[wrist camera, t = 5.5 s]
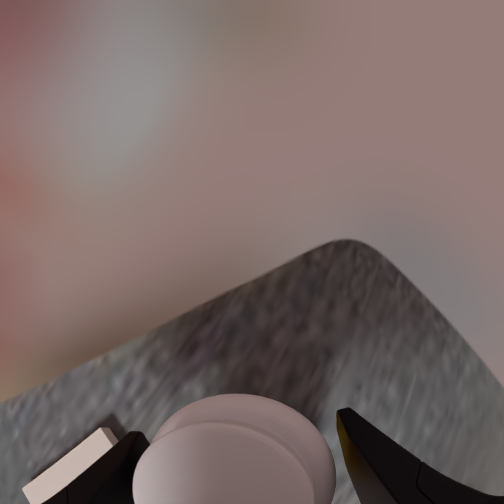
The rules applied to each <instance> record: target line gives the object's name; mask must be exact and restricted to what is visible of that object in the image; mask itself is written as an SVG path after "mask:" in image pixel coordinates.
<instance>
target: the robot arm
mask: <svg viewBox="0 0 504 504" xmlns="http://www.w3.org/2000/svg"><path fill="white" fill-rule="evenodd" d="M336 417H337V432H338V436H339V440H340V444H341V448H342V452H343V456H344V460H345V464H346V467H347V470H348V473H349V476H350V478H351V481H352V483H353V486H354V488H355V490H356V493H357V495H358V498H359V500H360V503H361V504H504V496H493V495H488V494H485V493H482V492H480V491H477V490H475V489H473V488H470V487H468V486H466V485H464V484H461V483H459V482H457V481H455V480H453V479H451V478H449V477H447V476H445V475H443V474H441V473H439V472H438V471H436V470H435V469H433V468H431V467H430V466H429V465H427V464H426V463H424V462H421V460H420V459H418V458H417V457H415V456H414V455H413V454H411V453H410V452H408V451H407V450H406V449H404V448H403V447H401V446H400V445H399V444H397V443H396V442H395V441H393V440H392V439H391V438H389V437H388V436H386V435H385V434H384V433H382V432H381V431H380V430H378V429H377V428H376V427H374V426H373V425H372V424H371V423H369V422H368V421H367V420H365V419H364V418H363V417H361V416H360V415H359V414H358V413H356V412H355V411H354V410H352V409H351V408H349V407H347V408H343V409H339V410H337V413H336ZM149 446H150V444H149V442H148V440H147V439H146V437H145V436H144V434H143V433H142V432H140V431H130V432H129V433H128V434H127V435H125V436H124V437H123V438H122V439H121V440H120V441H119V442H117V443H116V444H115V445H114V446H113V447H112V448H111V449H109V450H108V451H107V452H106V453H105V454H104V455H102V456H101V457H100V458H99V459H98V460H97V461H95V462H94V463H93V464H92V465H91V466H90V467H88V468H87V469H86V470H85V471H84V472H82V473H81V474H80V475H79V476H78V477H76V478H75V479H74V480H73V481H71V482H70V483H69V484H68V485H67V486H65V487H64V488H63V489H61V490H60V491H59V492H57V493H56V494H55V495H53V496H52V497H51V498H49V499H48V500H46V501H45V502H43V503H41V504H135V502H134V498H133V477H134V472H135V469H136V466H137V463H138V461H139V460H140V458H141V456H142V454H143V453H144V452H145V451H146V449H147V448H148V447H149Z"/></svg>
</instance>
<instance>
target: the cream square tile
mask: <svg viewBox="0 0 504 504" xmlns="http://www.w3.org/2000/svg"><path fill="white" fill-rule="evenodd" d="M117 442H119V441H118V440H117V438H116V437H115V436H114V434H113V433H112V431H111V430H110V428H102V427H100V428H99V429H98V430H96V431H95V432H94V433H93V434H92V435H90V436H89V437H88V438H87V439H85V440H84V441H83V442H82V443H80V444H79V445H78V446H77V447H75V448H74V449H73V450H72V451H70V452H69V453H68V454H67V455H65V456H64V457H63V458H61V459H60V460H59V461H58V462H56V463H55V464H54V465H52V466H51V467H50V468H49V469H47V470H46V471H45V472H43V473H42V474H41V475H39V476H38V477H37V478H36V479H34V480H33V481H32V482H30V483H29V484H28V485H26V486H25V487H23V488H22V490H23V492H24V494H25V495H26V497H27V499H28V500H29V502H30V504H41V503H43V502H45V501H46V500H48V499H49V498H51V497H52V496H53V495H55V494H56V493H57V492H59V491H60V490H61V489H63V488H64V487H65V486H67V485H68V484H69V483H70V482H71V481H73V480H74V479H75V478H76V477H78V476H79V475H80V474H81V473H82V472H84V471H85V470H86V469H87V468H88V467H90V466H91V465H92V464H93V463H94V462H95V461H97V460H98V459H99V458H100V457H101V456H102V455H104V454H105V453H106V452H107V451H108V450H109V449H111V448H112V447H113V446H114V445H115V444H116V443H117Z"/></svg>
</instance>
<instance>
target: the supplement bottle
mask: <svg viewBox="0 0 504 504" xmlns="http://www.w3.org/2000/svg"><path fill="white" fill-rule="evenodd" d="M335 487H336V469H335V464H334V459H333V456H332V453H331V450H330V448H329V446H328V444H327V442H326V441H325V439H324V437H323V436H322V434H321V433H320V432H319V431H318V429H317V428H316V426H315V425H314V424H312V423H311V422H310V421H309V420H308V419H307V418H306V417H305V416H303V415H302V414H301V413H299V412H298V411H296V410H295V409H293V408H291V407H289V406H287V405H286V404H284V403H281V402H279V401H276V400H273V399H270V398H267V397H262V396H257V395H249V394H222V395H216V396H211V397H207V398H204V399H200V400H198V401H195V402H193V403H191V404H189V405H187V406H185V407H183V408H182V409H180V410H179V411H177V412H176V413H174V414H173V415H172V416H171V417H170V418H169V419H168V420H167V421H166V422H165V423H164V424H163V425H162V426H161V427H160V429H159V430H158V431H157V433H156V435H155V436H154V438H153V440H152V442H151V445H150V446H149V447H148V448H147V449H146V451H145V452H144V453H143V454H142V456H141V458H140V460H139V461H138V463H137V466H136V469H135V472H134V477H133V498H134V502H135V504H331V502H332V499H333V496H334V492H335Z"/></svg>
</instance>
